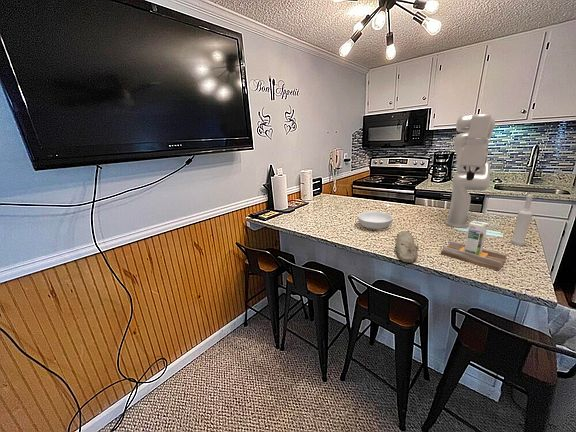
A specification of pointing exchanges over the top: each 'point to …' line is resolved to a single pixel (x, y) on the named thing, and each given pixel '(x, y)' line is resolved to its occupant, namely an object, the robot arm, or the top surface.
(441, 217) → the top surface
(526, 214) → the bottle
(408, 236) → the elongated rock
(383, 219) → the serving bowl
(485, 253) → the orange rectangular panel
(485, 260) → the wooden tray
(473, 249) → the syrup box
